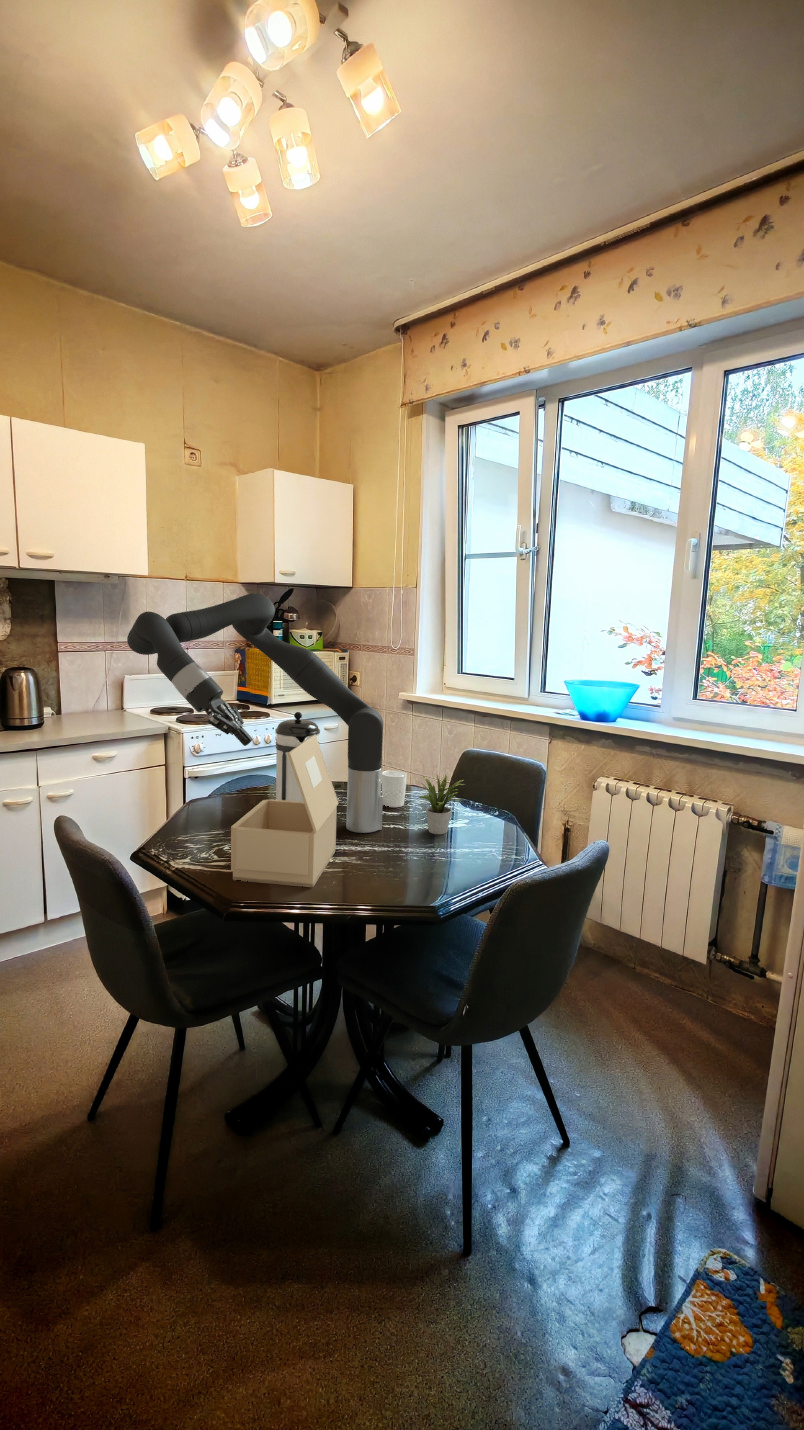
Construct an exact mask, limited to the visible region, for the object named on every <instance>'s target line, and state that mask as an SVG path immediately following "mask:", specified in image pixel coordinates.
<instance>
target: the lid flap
mask: <svg viewBox="0 0 804 1430" xmlns="http://www.w3.org/2000/svg"><path fill="white" fill-rule="evenodd" d="M318 742H319V741H318V740H317V737H316V734H315V735H313V736H311V737H310V738H308V739H307V740H306V741H304V742H303V743H301V744H300V745H299V746H297V747H296V748H294V749H293V750H291V751H290V752H289V753H287V754H288V757H289V760H290V763H291V766H292V769H293V772H294V775H295V778H296V781H297V783H298V786H299V789H300V792H301V795H302V798H303V801H304V804H305V807H306V810H307V813H308V816H309V819H310V822H311V825H312V828H313V831H314V833H315V832H317V831H318V830H319V828H320V827H321V826H322V825H323V823H324V822H325V821H326V819H327V818H328V817H329V815H330V814H331V813H332V812H333V810H334V809H335V808H336V806H338V805H339V804H340V803H339V800H338V796H337V794H336V790H335V788H334V785H333V782H332V780H331V775H330V774H329V770H328V767H327V763H326V761H325V759H324V758H325V757H324V755H323V752H322V749H321V746H320V742H319V743H318Z"/></svg>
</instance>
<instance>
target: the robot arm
mask: <svg viewBox="0 0 804 1430" xmlns="http://www.w3.org/2000/svg"><path fill="white" fill-rule="evenodd" d="M275 613H276V607H275V605H274V603H273V601H272V600H271V599H270V598H269V597H267V596H266V595H264V594H262V593H258V592H257V593H256V592H251V593H247V594H244V595H241V596H239V597H236V598H233V599H231V600H228V601H225V602H222V603H219V604H214V605H211V606H208V607H205V608H199V609H194V610H187V611H181V612H176V613H172V614H170V615H168V616H167V617H166V618H165V617H163V616H162V615H160V614H159V613H156V612H154V611H144V612H141V613H140V614H139V615H138V617H137V618H136V620H135V621H134V623H133V625H132V626H131V628H130V630H129V632H128V633H127V638H126V640H127V646H128V647H129V648H130V650H132V651H133V652H135V653H137V654H139V655H143V656H150V655H151V656H152V655H155V654H157V660H156V667H157V668H158V669H159V670H160V671H161V673H162V674H163V675H164V676H165V677H166V678H167V679H168V681H170V682H171V684H173V686H174V688H175V689H176V690H177V692H178V693H179V694H180V695H181V696H182V697H183V698H184V699H185V700H186V702H188V703H189V705H190V706H192V707H191V708H193V709H194V710H195V712H197V713H203V712H205V714H206V715H208V719H207V723H208V724H209V725H210V726H212V727H214V728H216V729H217V730H220V731H221V732H223V733H224V734H226V735H229V734H230V735H232V736H234V737H235V738H236V739H237V740H238V742H240V743H241V745H242V746H244V747H246V746H248V745H249V744H250V743H251V742H252V741H253V737H252V736H251V735H250V734H249V733H248V731H246V730H245V729H244V723H245V722H244V720H243V718H242V715H241V713H240V712H239V709H238V707H237V706H235V705H233V706H232V707H231V706H230V705H229V703H228V702H226V701H225V700H224V699H223V698H222V696H223V694H224V690H223V689H222V688H221V686H220V685H218V683H217V682H216V681H215V680H214V679H213V678H212V677H211V676H210V674H209V673H208V672H206V670H205V669H204V668H203V667H202V666H200V665H199V664H198V663H197V662H196V661H195V660H194V658H192V657H191V656H190V654H189V653H188V652H187V651H186V650H185V649H184V648H183V646H182V644H181V643H187V642H192V641H197V640H201V639H206V638H207V637H210V636H212V635H214V634H215V633H218V632H219V631H222V630H223V629H226V628H227V627H228V628H229V627H230V626H232V629H233V630H235V632H236V633H237V634H238V635H240V636H241V637H242V638H243V639H244V640H246V641H247V642H248V643H250V644H251V645H252V646H253V647H255V648H256V649H258V650H259V651H260V652H261V653H263V654H264V655H265V656H267V657H268V659H270V660H271V661H272V662H273V663H274V664H276V666H278V667H279V668H280V669H281V670H282V671H283V672H284V673H285V674H286V675H287V676H288V677H289V678H290V680H293V682H295V684H297V686H299V688H301V689H302V690H303V691H304V692H306V693H307V694H308V695H309V696H311V697H312V698H313V699H315V700H316V701H318V702H320V703H322V704H323V705H324V706H327V707H328V708H329V709H331V710H332V711H334V713H335V714H336V715H338V717H340V719H341V720H342V721H343V722H344V723H345V724H346V726H347V727H348V728H347V729H348V730H347V787H346V788H347V791H346V792H347V794H346V819H345V822H346V825H345V827H346V829H347V830H348V831H349V832H353V833H359V834H362V833H363V834H367V833H374V832H377V831H381V830H382V829H383V828H382V827H383V806H384V805H383V796H382V772H383V771H382V770H383V767H382V766H383V743H384V741H383V736H384V721H383V717H382V716H381V714H380V713H379V712H378V711H377V710H376V709H374V708H373V707H371V706H370V705H369V704H368V703H367V702H365V701H364V700H362V699H361V698H360V697H359V696H357V695H356V694H355V693H354V692H353V691H351V689H350V688H349V687H348V686H347V685H346V684H345V682H343V680H342V679H341V678H340V677H339V676H338V675H337V674H336V673H335V672H334V671H333V670H332V669H331V668H330V667H329V666H328V664H327V663H325V661H323V660H322V659H321V657H319V656H318V655H317V654H315V652H313V651H311V650H310V649H307V648H305V647H302V646H299V645H295V644H291V643H289V642H285V641H283V640H281V639H279V638H278V636H276V635H274V634H273V633H272V632H271V631H270V630H269V629H268V628H267V627H268V625H269V624H271V622H272V620H273V619H274V617H275Z"/></svg>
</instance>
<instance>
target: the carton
mask: <svg viewBox="0 0 804 1430" xmlns="http://www.w3.org/2000/svg"><path fill="white" fill-rule="evenodd" d="M337 806H338V805H337ZM337 806H336V808H335V809H334V810H333V812H332V813H331V814H330V815H329V817H328V818H327V819H326V821H325V822H324V823H323V825H322V826H321V827H320V828H319V830H318V831H317V832H315V833H314V831H313V828H312V825H311V822H310V819H309V816H308V813H307V810H306V807H305V804H304V802H301V801H288V800H276V798H275V799H274V798H273V799H272V798H271V799H262V801H260V802H259V803H257V805H255V806H254V807H253V808H252V809H250V811H248V812H247V813H245V815H243V816H242V817H241V818H240V819H238V820H237V821H236V822H235V823H234V824H232V825H231V827H230V858H231V859H230V861H231V862H230V871H232V880H233V881H236V880H241V881H240V882H247V881H248V883H250V882H251V883H261V884H271V885H283V886H293V887H294V886H295V887H302V886H303V887H304V888H305V887H306V888H314V886H315V885H316V883H317V882H318V881H319V878H320V877H321V875H322V874H323V872H324V870H325V869H326V867H328V865H329V862H330V860H331V859H332V858H333V856H334V855H335V852H336V849H337V848H336V846H337V844H336V843H337V841H336V840H337Z"/></svg>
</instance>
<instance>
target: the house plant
mask: <svg viewBox="0 0 804 1430" xmlns="http://www.w3.org/2000/svg"><path fill="white" fill-rule="evenodd" d="M435 775H436V780H437V781H436V783H437V791H436V787H435V785H434V784H432V782H431V781H430V780H429V779H428V778H427V777H426V776H424V775H422V777H423V778H424V781H425V782H426V784H427V786H426V785H425V784H424V783H423V782H420V784H421V785H422V786H423V787H424V788H425V790H427V792H428V794H424V795H421V796H417V798H418V799H425V800H426V801H428V802H429V804H430V806H427V807H426V808H425V811H426V819H427V820H426V821H427V828H428V832H429V833H430V834H432V835H445V834H447V833H448V828H449V825H450V820H451V815H452V809H451V808H450V807H449V806H446V805H447V803H449V802H450V801H451V802H452V801H455V802H460V801H462V800H463V799H461V798H458V799H457V798H456V796H455V794H458V793H459V792H453V791H458V789H455V788H456V787H458V786H459V785H460V786H464V785H465V786H466V784H465V783H461V782H463V781H465V779H461V780H459V781H456V782H454V784H452V785H450V787H447V784H448V783H447V780H448V775H447V773H445V775H444V777H443V779H442V781H440V778H439V776H438V774H437V773H436V774H435ZM445 791H446V792H445ZM452 792H453V793H452ZM437 793H438V794H437Z"/></svg>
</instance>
